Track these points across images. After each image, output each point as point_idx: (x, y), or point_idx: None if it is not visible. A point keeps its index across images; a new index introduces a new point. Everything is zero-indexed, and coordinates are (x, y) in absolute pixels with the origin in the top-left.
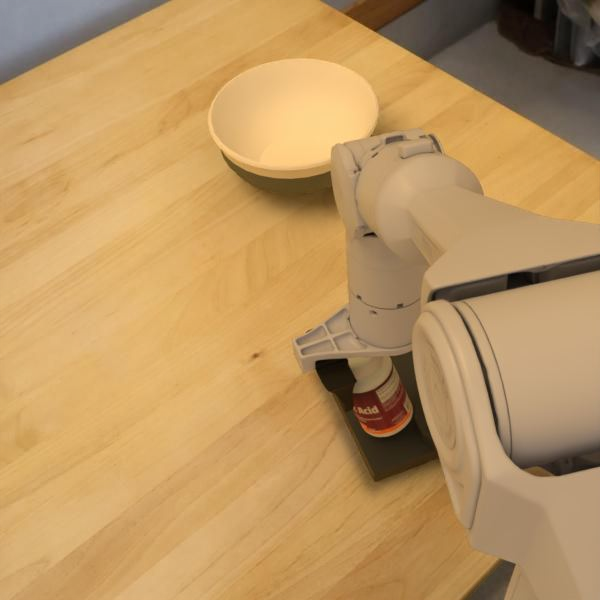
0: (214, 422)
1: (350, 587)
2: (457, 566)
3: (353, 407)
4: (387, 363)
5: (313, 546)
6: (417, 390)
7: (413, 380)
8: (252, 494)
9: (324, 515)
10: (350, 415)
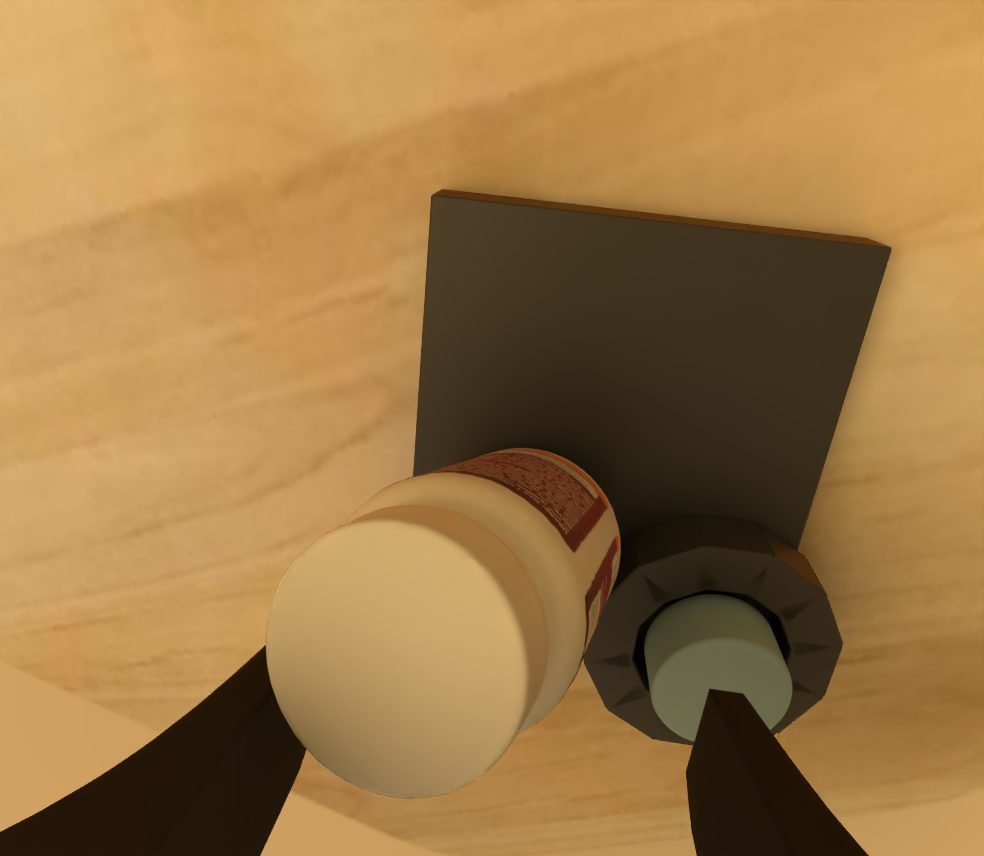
0: (3, 176)
1: None
2: (485, 830)
3: (305, 748)
4: (538, 707)
5: (198, 656)
6: (690, 473)
7: (706, 432)
8: (80, 471)
9: (251, 610)
10: (430, 440)
